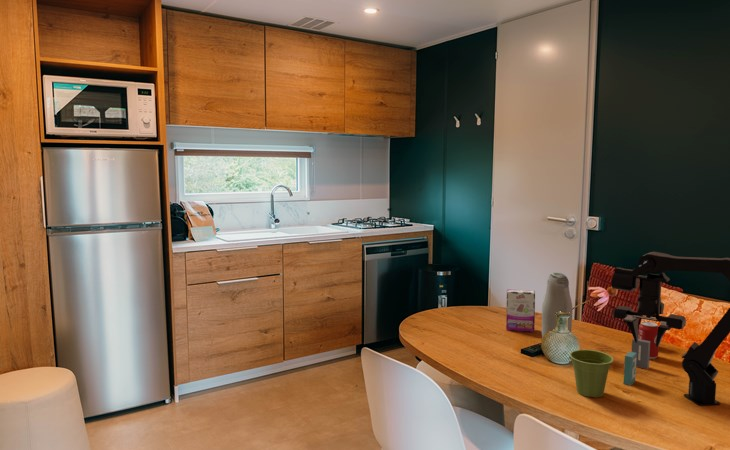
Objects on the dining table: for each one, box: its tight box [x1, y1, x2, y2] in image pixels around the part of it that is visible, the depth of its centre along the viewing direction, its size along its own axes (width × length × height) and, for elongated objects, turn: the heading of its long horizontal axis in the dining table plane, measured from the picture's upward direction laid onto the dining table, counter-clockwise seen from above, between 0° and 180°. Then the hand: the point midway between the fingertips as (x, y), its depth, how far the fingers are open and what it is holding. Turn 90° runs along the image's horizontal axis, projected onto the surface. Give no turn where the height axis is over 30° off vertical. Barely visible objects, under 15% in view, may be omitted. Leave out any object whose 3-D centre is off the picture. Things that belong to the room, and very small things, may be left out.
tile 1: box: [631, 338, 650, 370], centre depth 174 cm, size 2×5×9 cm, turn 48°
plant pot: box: [569, 349, 614, 398], centre depth 153 cm, size 12×12×11 cm
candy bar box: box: [505, 288, 536, 333], centre depth 213 cm, size 11×5×16 cm, turn 73°
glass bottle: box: [541, 272, 573, 339], centre depth 191 cm, size 10×10×28 cm
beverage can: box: [638, 321, 660, 360], centre depth 182 cm, size 6×6×12 cm
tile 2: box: [623, 351, 637, 387], centre depth 161 cm, size 2×5×9 cm, turn 138°
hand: (646, 344), depth 157 cm, fingers open, 5 cm apart
